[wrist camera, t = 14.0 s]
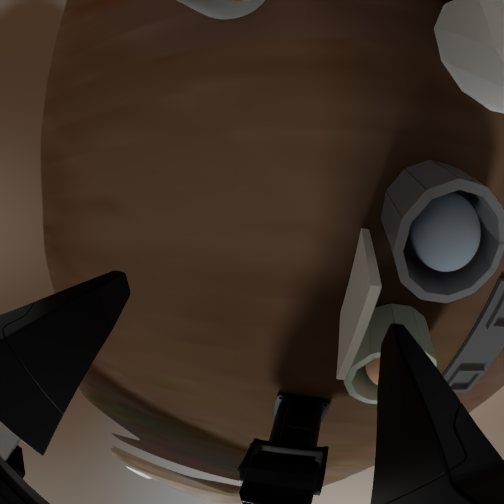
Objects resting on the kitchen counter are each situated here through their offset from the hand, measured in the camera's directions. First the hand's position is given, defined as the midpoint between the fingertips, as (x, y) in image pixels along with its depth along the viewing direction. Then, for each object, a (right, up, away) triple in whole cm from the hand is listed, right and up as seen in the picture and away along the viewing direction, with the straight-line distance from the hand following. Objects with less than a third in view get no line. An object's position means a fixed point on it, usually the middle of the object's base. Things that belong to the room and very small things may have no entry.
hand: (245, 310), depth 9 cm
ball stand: (+24, -8, +12) cm, 28 cm away
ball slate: (+13, +4, +8) cm, 16 cm away
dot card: (+8, 0, +12) cm, 15 cm away
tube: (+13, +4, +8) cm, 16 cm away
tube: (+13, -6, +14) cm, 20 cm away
